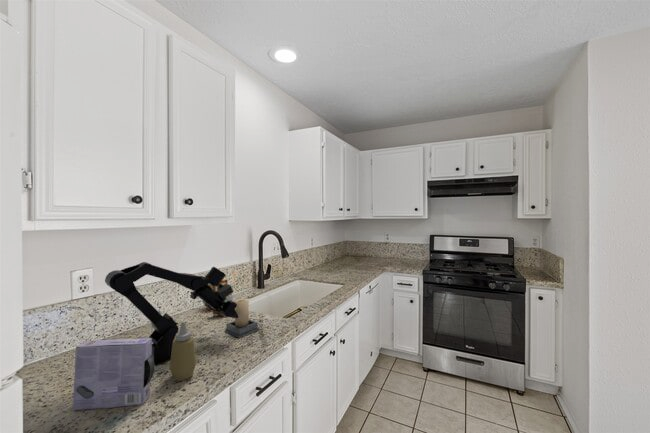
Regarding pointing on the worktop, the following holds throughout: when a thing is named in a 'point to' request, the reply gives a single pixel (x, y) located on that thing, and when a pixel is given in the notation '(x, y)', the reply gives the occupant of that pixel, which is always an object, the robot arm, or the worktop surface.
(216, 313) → the food container
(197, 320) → the worktop surface
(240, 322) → the beige tapered cylinder
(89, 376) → the cake pan box
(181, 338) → the squeeze bottle
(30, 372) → the worktop surface
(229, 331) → the dock
